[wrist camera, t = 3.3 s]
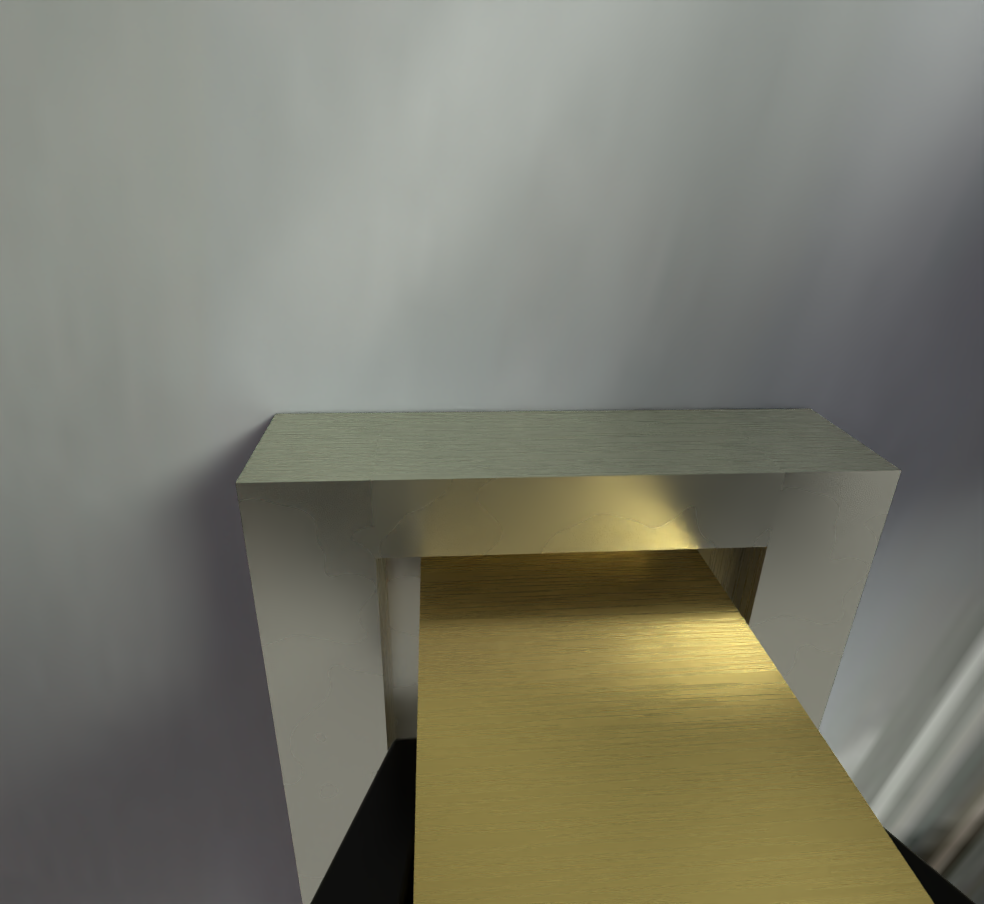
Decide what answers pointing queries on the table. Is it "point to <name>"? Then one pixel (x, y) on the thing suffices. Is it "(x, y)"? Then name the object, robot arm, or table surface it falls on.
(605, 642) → the gold push button block
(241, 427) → the table surface
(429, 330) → the table surface
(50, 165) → the table surface
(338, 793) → the rail
